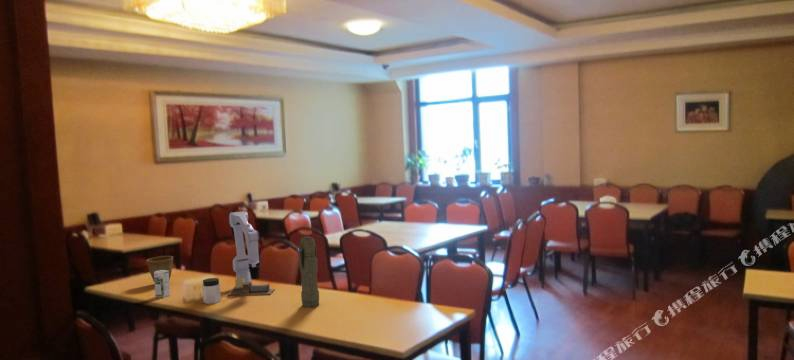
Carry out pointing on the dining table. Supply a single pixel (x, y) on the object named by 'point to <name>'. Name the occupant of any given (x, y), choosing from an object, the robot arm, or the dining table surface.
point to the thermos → (308, 272)
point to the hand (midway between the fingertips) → (254, 277)
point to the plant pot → (160, 264)
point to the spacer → (239, 282)
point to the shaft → (255, 288)
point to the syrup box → (161, 283)
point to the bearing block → (246, 291)
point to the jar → (211, 291)
